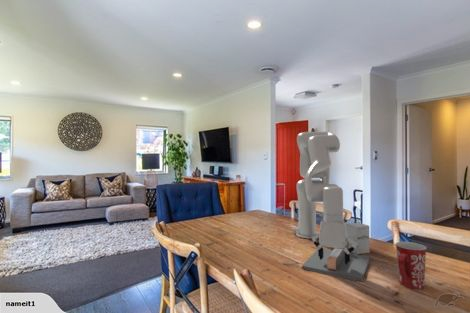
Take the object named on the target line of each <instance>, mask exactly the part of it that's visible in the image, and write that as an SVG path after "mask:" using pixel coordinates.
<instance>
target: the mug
mask: <svg viewBox="0 0 470 313" xmlns="http://www.w3.org/2000/svg"><path fill="white" fill-rule="evenodd" d="M395 248H396V257H397V259H396V260H397V269H398V282H399V284H400V285H401V286H403V287H406V288H409V289H416V290H420V289H421V290H422V289H424V288H425V277H426V275H425V274H426V273H425V272H426V258H427V257H426V256H427V255H426V254H427V246H426V245H423V244H420V243H416V242H412V241H411V242H410V241H398V242H395ZM423 287H424V288H423Z"/></svg>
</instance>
